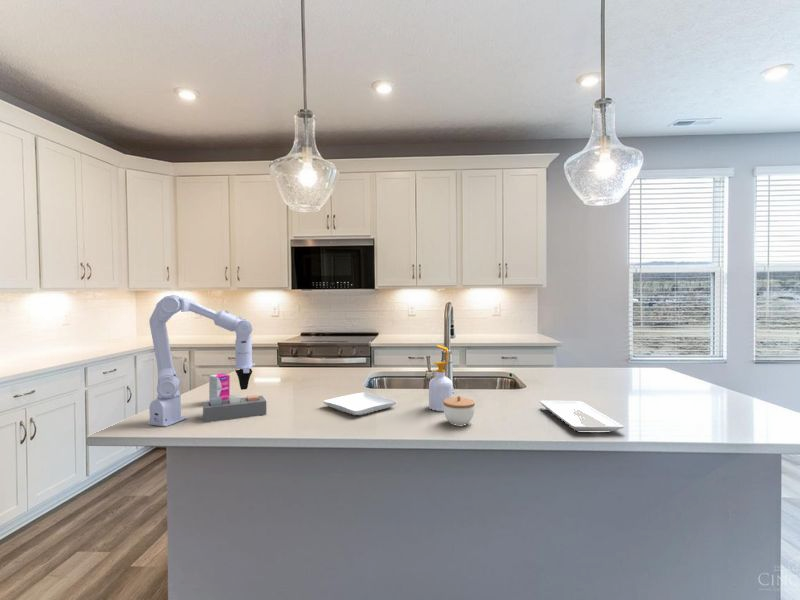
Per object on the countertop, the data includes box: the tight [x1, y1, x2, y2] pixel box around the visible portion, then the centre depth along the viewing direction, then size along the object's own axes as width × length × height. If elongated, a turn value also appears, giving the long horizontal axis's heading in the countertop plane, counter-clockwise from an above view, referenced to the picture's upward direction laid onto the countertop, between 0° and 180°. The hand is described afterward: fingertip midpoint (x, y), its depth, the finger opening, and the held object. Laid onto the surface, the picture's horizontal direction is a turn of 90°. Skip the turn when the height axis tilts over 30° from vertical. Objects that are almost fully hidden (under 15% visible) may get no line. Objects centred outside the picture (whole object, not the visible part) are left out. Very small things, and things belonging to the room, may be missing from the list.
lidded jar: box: [443, 395, 476, 425], centre depth 150 cm, size 11×11×9 cm
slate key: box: [210, 397, 222, 406], centre depth 157 cm, size 4×4×4 cm
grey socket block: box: [202, 395, 267, 423], centre depth 159 cm, size 21×9×5 cm, turn 117°
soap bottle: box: [428, 344, 453, 412], centre depth 168 cm, size 9×9×25 cm
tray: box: [539, 400, 625, 432], centre depth 153 cm, size 17×32×4 cm, turn 2°
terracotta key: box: [246, 394, 259, 402], centre depth 162 cm, size 4×4×4 cm
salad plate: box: [323, 391, 398, 416], centre depth 169 cm, size 21×21×3 cm
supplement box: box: [208, 373, 231, 402], centre depth 176 cm, size 6×6×12 cm
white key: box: [229, 394, 241, 404], centre depth 159 cm, size 4×4×4 cm
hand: (243, 389), depth 161 cm, fingers closed
